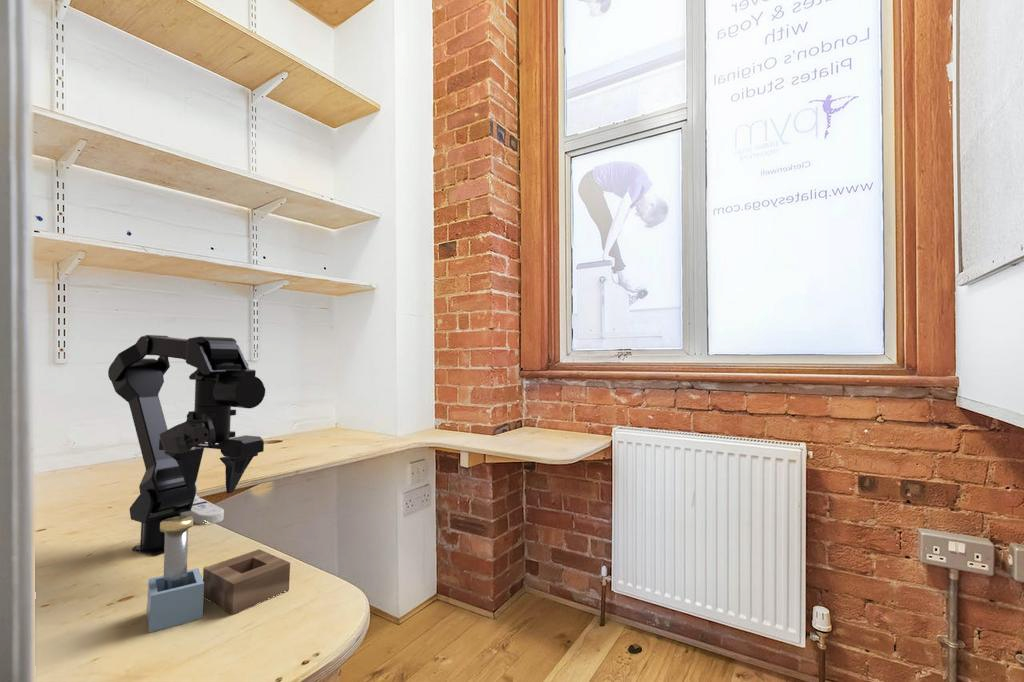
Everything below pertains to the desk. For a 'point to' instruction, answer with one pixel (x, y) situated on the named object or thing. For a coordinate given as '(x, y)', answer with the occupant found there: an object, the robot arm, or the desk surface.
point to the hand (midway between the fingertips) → (210, 490)
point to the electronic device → (204, 511)
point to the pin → (175, 550)
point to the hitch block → (245, 580)
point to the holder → (174, 602)
